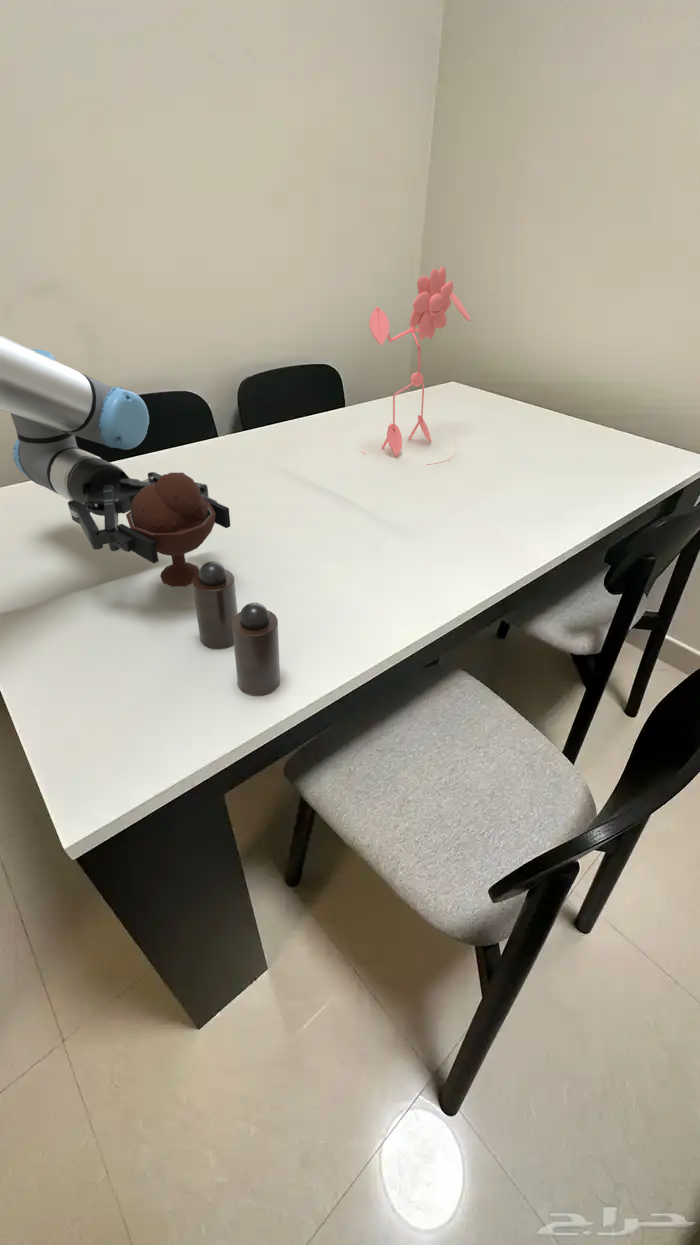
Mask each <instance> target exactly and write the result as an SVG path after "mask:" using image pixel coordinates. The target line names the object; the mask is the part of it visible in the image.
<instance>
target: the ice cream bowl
mask: <svg viewBox="0 0 700 1245" xmlns="http://www.w3.org/2000/svg"><path fill="white" fill-rule="evenodd" d="M161 475H162V476H161V477H160V478H159V479H158V481H157V482H156V483H152V484H151V485H149V486H146V487H144V488H143V489H142V490H141V491H140V492H139V493H138V494H137V495H136V496H135V497H134V498H133V501H132V504H131V510H130V511H128V512H126V513H127V514H126V513H125V516H126V519H127V522H128V525H129V526H128V527H129V528H131V529H133V530H135V531H136V532H138V533H140V534H142V535H144V536H146V537H147V538H149V539H151V540H153V541H155V544H156V549H157V554H158V553H159V554H161V555H163V556H170V557H171V563H172V564H169V565H167V566H165V567H164V568H163V570H162V571H161V572H160V575H159V577H160V580H161V583H162V584H164V585H166V586H169V587H172V588H180V587H182V588H184V587H185V588H186V587H188V586H190V585H192V579H193V577H194V575H195V574H197V573H198V572H199V571H200V568H199V566H198V565H196V564H193V563H190V562H189V561H186V558H185V554H187V553H190V552H193V551H194V550H197V549H198V548H199V547H200V546H201V545H202V544H203V543H204V542H205V540H206V539H207V538H208V537H209V536H210V534H211V533H212V532H213V529H214V526H215V524H216V523H215V515H216V513H215V512H214V510H213V508H212V506H211V505H210V503H209V502H207V501H205V500H204V498H203V497H202V495H201V494H200V490H199V488H198V486H197V485H196V483H197V482H196V483H195V480H194V478H192V477H190V476H188V475H187V474H185V473H184V472H169V473H165V474H161Z"/></svg>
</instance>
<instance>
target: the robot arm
mask: <svg viewBox="0 0 700 1245" xmlns="http://www.w3.org/2000/svg"><path fill="white" fill-rule="evenodd" d="M0 410H1V411H3V412H6V413H10V416H11V419H12V422H13V425H14V428H15V430H16V435H17V439H16V441H15V442H14V444H13V450H12V458H13V459H12V460H13V462H14V464H15V467H16V468H17V469H18V470H19V471H20V472H21V473H22V474H23V475H24V476H26V477H27V478H28V479H29V480H31V481H32V482H33V483H35V484H36V485H39V486H41V487H44V488H46V489H48V490H50V491H52V492H54V493H55V494H57V495H59V496H61V497H62V498H65V499H66V500H67V505H68V509H69V512H70V516H71V517H70V518H71V520H72V521H74V522H75V523H77V524H79V525H80V526H81V529H82V531H83V533H84V534H85V536H86V539H87V540H88V543H89V544H90V545H91V548H92V549H93V550H95V551H98V550H102V549H103V548H104V545H108V546H109V550H110V551H111V552H118V551H119V550H122V551H124V552H127V553H130V552H133V553H135V554H136V555H138V556H139V557H141V558H143V559H145V560H147V561H148V562H150V563H152V564H155V563H158V562H159V556H158V552H157V549H156V544H155V541H153V540H151V539H149V538H147V537H146V536H144V535H142V534H140V533H138V532H136V531H135V530H133V529H131V528H130V526H127V525H125V524H124V523H119V514H126V513H129V512H130V511H131V504H132V501H133V498H134V497H135V496H136V495H137V494H138V493H139V492H140V491H141V490H142V489H143V488H144V487H146V486H149V485H151V484H152V483H156V482H157V481H158V479H159V478H160V477H161V476H162V475H163V474H159V473H157V472H154V471H150V472H148V473H147V478H146V479H144V480H140V479H136V478H132V477H129V475H128V474H127V473H126V472H125V471H124V470H123V469H122V468H121V467H119V466H118V465H116V464H114V463H112V462H110V461H107V460H105V459H103V458H101V457H100V456H98V455H96V454H93V453H91V452H88V451H86V450H84V449H82V448H80V447H78V444H77V440H76V437H77V438H81V439H84V440H87V441H90V442H93V443H97V444H100V445H104V446H106V447H108V448H112V449H113V448H116V449H121V450H131V449H134V448H137V447H138V446H139V445H140V444H142V442H143V441H144V440H145V438H146V436H147V434H148V430H149V424H150V415H149V410H148V407H147V404H146V403H145V401H144V400H143V398H142V397H141V396H140V395H138V393H135V392H134V391H131V390H127V389H125V388H123V387H121V386H112V385H109V384H106V383H104V382H102V381H100V380H97V379H95V378H93V377H92V376H89V375H86V374H84V373H81V372H80V371H78V370H76V369H75V368H72V367H69V366H68V365H65V364H63V363H61V362H59V361H57V360H56V357H55V356H54V355H53V354H52V353H51V352H49V351H47V350H44V349H37V348H35V349H34V348H29V347H27V346H25V345H23V344H21V343H18V342H16V341H14V340H12V339H10V338H8V337H5V336H3V335H1V334H0ZM194 482H195V481H194ZM195 483H196V485H197V486H198V488H199V490H200V494H201V495H202V497H203V498H204V500H205V501H207V502H209V503H210V505H211V506H212V508H213V510H214V512H215V513H216V515H215V523H214V524H216V525H218V526H221V527H223V528H225V529H228V528H230V527H231V517H230V508H229V507H228V506H225V505H223V504H221V503H219V502H218V501H217V500H215V499H213V498H211V497H209V489H208V488H209V487H208V484H206V483H201V482H195ZM91 514H93V515H96V516H100V517H104V518H103V519H104V529H99V527H98V525H97V524H96V522H95V519H94V517H93V516H92V515H91Z"/></svg>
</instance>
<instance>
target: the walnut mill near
mask: <svg viewBox="0 0 700 1245" xmlns="http://www.w3.org/2000/svg"><path fill="white" fill-rule="evenodd" d="M278 621H279V620H278V617H277V616H276V614H275V613H273V612H272V611H270V610H268V608H267V607H266V606H265V605H264V604H262V603H259V602H250V603H248V604H245V605H244V606H243V607H242V609H241V610H240V611H239V612H238V614H237V615H236V616H235V617H234V618H233V620H232V631H233V641H234V644H233V649H234V650H233V651H234V658H235V659H234V660H235V669H236V680H237V686H238V688H239V689H240V690H241V691H242V692H243V693H244V694H246V695H248V696H249V695H250V696H254V697H260V696H266V695H269V694H271V693H272V692H274V691H276V690H277V688H278V687H279V685H280V684H281V668H280V643H279V642H280V641H279V639H280V638H279V622H278Z"/></svg>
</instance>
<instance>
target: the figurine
mask: <svg viewBox="0 0 700 1245" xmlns="http://www.w3.org/2000/svg"><path fill="white" fill-rule="evenodd" d="M416 286H417V292H418V295H417V296H416V298H415V299H414V300H413V303H412V312H411V314H410V318H409V322H408V323H409V324H408V325H409V327H410V328H409V329H406V330H405V331H403V332H401V333H399V334H397V335H396V336H394V337H391V335H390V327H391V326H390V321H389V318H388V316H387V314H386V312H385V311H383V310H382V309H381V308H380V307H379V306H375V307H374V310H373V311H371V314H370V317H369V321H368V322H369V325H368V326H369V329H370V333H371V335H372V337H373V338H374V339H375V341H376V342H377V343H378V344H379V345H380V346H383V345H384V343H385V342H386V339H388V340H387V341H389V343H392V342H395V341H396V340H398V339H400V338H402V337H404V336H406V335H407V334H409V333H411V334H412V337H413V339H414V341H415V345H416V347H417V371H416V372H414V373H412V374H411V376H410V378H409V379H410V380H409V381H410V383H409V384H408V385H406V386H405V387H403V388H401V389H400V390H398V391H396V392H395V393H393V395H392V422H391V423H390V424H389V425H388V426H387V431H386V438H385V440H384V442H383V444H382V445H381V449H382V450H384V449H385V447H386V446H387V444H388V447H389V448H390V450H391V451H392V453H393V455H394V456H395V457H396V458H398V457H399V455H400V453H401V450H402V447H403V437H402V433H401V430H400V428H399V426H398V425H397V424H396V415H395V414H396V396H397V395H399V394H400V393H402V392H403V391H405V390H406V389H408V388H410V387H411V386H414V387H420V386H422V387H421V388H422V390H421V407H420V408H421V411H420V414H421V415H420V414H418V415H417V423H416V424H415V426H414V428H413V429H412V431H411V433H410V435H409V436H408V438H407V439H408V440H412V438H413V436H414V434H415V433H416V431H417V429H418V427H420V429H421V432H422V433H423V435H424V437H425V438H426V439H427V441H428V442H429V443H432V437H431V434H430V431H429V428H428V425H427V424H426V421H425V419H424V418H423V416H424V400H425V399H424V398H425V385H424V379H425V378H424V375H423V374H422V373H421V354H422V353H421V352H422V348H421V345H420V342H419V340H420V341H423V340H424V339H425V338H426V337H427V338H428V339H429V340H431V339H433V337H434V335H435V332H436V329H440V330H441V329H443V328H444V327H445V326H446V325H447V322H448V321H447V315H446V314H445V313H446V312H447V311H448V309H449V308H450V306H451V304H452V303H453V304H454V306H455V307H456V309H457V310H458V312H459V313H460V314H461V315H462V317H463V318H464V319H465V320H467V321H468V322H471V321H472V320H471V317H470V315H469V314H468V312H467V310H466V308H465V307H464V305H463V302H462V301H461V299H459V298H458V296H457V295H456V294H455V293H454V292H453V290H454V282H453V280H449V281H448V282H447V270H446V267H445V266H441V267H440V269H438V268H432V270H431V271H430V277H428V276H426V275H421V276H420V277H419V278H417V283H416ZM417 326H418V328H416V327H417ZM415 332H417V333H418V338H417V335H416V333H415ZM418 339H419V340H418ZM454 445H455V448H456V449H457V445H456V444H454ZM360 452H361V453H362V454H364V455H366V453H364V452H363V451H362V450H361V451H360ZM455 456H456V454H454V455H453V456H452V457H450V458H448V459H446V460H443V461H440V462H435V463H426V466H431V465H436V464H441V463H445V462H450V461H452V458H454V457H455Z"/></svg>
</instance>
